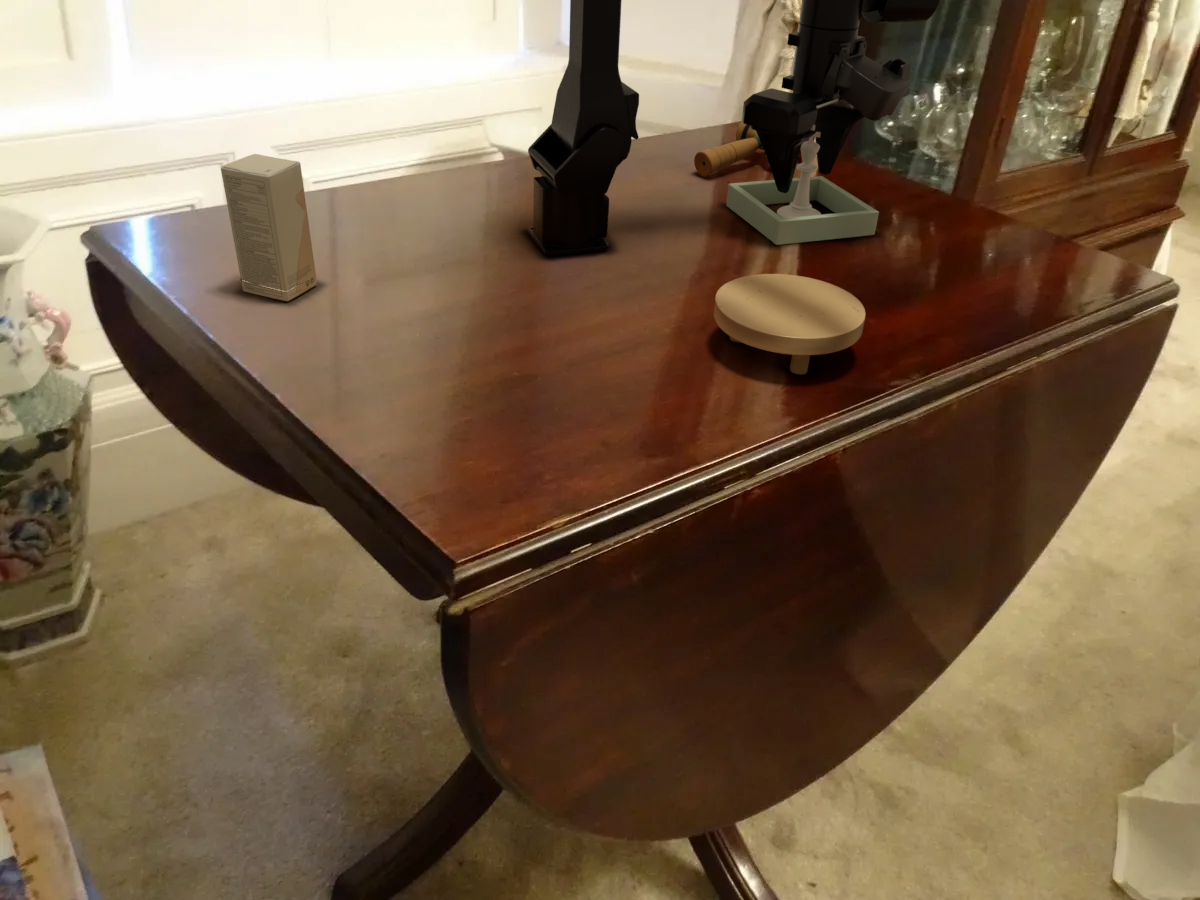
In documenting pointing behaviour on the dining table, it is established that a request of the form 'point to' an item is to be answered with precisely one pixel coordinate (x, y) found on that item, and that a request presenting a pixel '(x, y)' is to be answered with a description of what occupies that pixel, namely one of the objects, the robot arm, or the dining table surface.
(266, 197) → the box
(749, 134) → the kendama
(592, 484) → the dining table surface
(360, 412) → the dining table surface
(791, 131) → the robot arm
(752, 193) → the square frame
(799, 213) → the chess piece
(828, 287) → the stool
